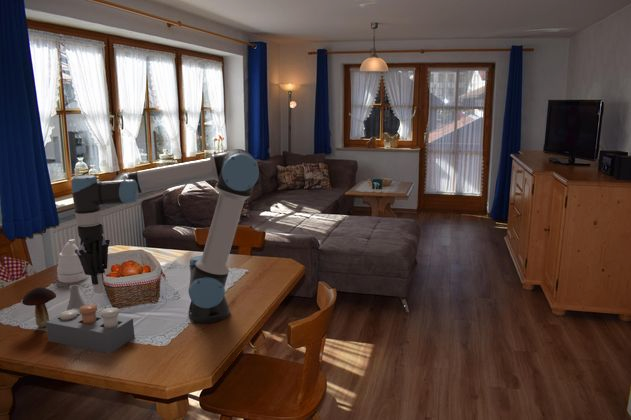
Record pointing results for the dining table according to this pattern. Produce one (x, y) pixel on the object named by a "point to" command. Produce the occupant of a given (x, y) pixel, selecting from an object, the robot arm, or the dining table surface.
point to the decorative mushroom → (39, 303)
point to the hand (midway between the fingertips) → (99, 292)
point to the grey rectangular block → (90, 333)
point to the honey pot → (70, 264)
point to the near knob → (110, 317)
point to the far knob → (68, 315)
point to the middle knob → (88, 313)
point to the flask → (75, 298)
